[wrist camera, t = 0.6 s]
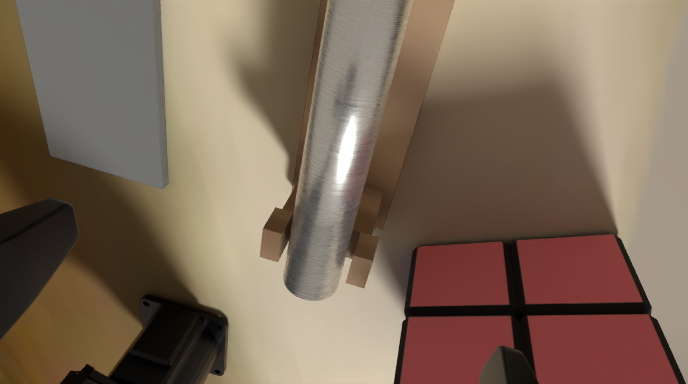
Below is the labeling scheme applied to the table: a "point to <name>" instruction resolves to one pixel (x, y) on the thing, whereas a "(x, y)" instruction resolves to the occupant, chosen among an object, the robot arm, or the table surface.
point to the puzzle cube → (531, 313)
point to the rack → (391, 142)
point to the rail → (341, 137)
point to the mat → (100, 83)
